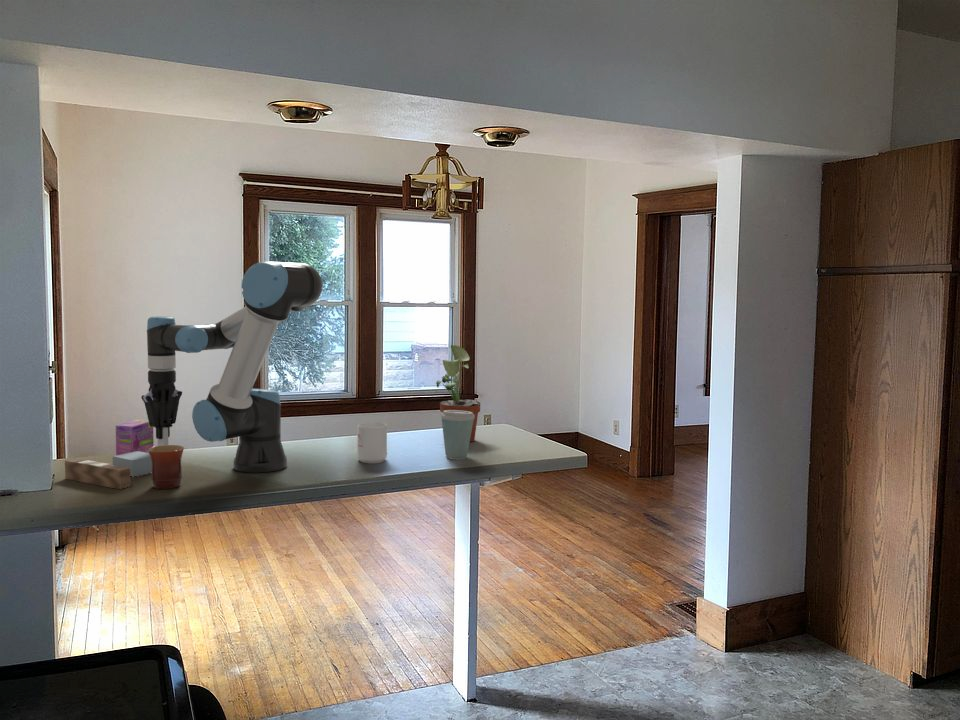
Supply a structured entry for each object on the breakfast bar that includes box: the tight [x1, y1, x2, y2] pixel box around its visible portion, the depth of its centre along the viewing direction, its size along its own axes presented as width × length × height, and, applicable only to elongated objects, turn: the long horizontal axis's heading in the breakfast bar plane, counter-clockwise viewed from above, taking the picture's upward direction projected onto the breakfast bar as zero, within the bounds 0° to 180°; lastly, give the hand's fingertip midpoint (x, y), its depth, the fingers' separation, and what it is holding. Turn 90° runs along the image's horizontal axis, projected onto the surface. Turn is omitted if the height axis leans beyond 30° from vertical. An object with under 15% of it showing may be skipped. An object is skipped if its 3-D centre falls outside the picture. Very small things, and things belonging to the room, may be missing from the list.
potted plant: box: [435, 344, 481, 443], centre depth 268 cm, size 16×15×35 cm
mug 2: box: [357, 421, 388, 464], centre depth 239 cm, size 12×9×11 cm
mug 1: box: [148, 444, 185, 490], centre depth 207 cm, size 12×9×10 cm
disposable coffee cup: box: [440, 410, 475, 461], centre depth 243 cm, size 11×11×15 cm
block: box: [112, 451, 152, 478], centre depth 220 cm, size 9×8×5 cm
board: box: [64, 458, 131, 490], centre depth 208 cm, size 22×3×5 cm, turn 63°
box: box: [115, 419, 155, 456], centre depth 233 cm, size 10×6×12 cm, turn 168°
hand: (163, 449), depth 229 cm, fingers closed
